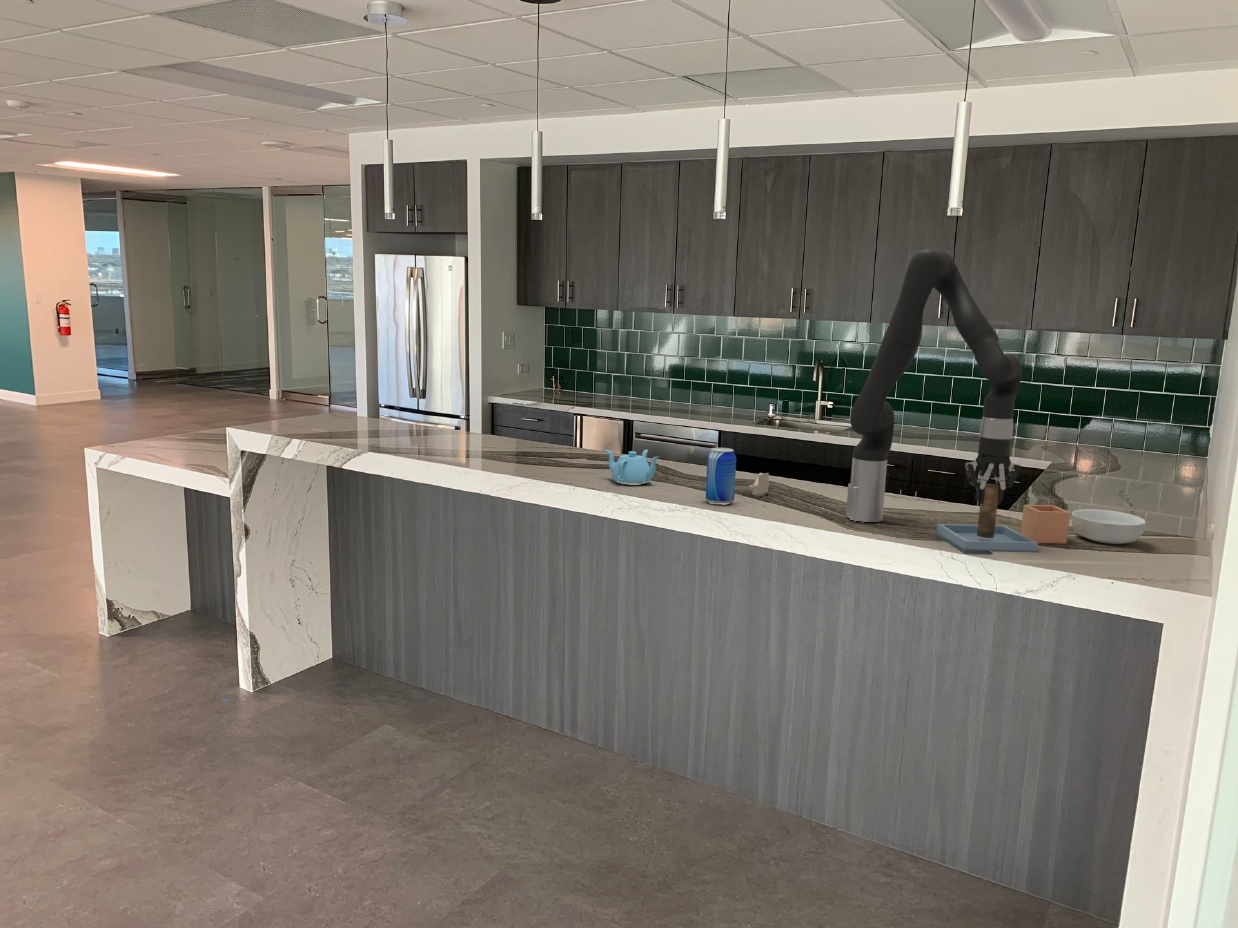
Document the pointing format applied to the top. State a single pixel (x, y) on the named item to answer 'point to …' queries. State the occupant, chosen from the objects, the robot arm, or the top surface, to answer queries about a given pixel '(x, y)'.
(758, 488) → the architectural model
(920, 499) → the top surface
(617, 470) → the teapot
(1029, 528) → the terracotta open box
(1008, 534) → the slate-blue tray
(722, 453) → the beer can
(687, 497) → the top surface
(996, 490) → the walnut peg
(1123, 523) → the cereal bowl
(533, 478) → the top surface
